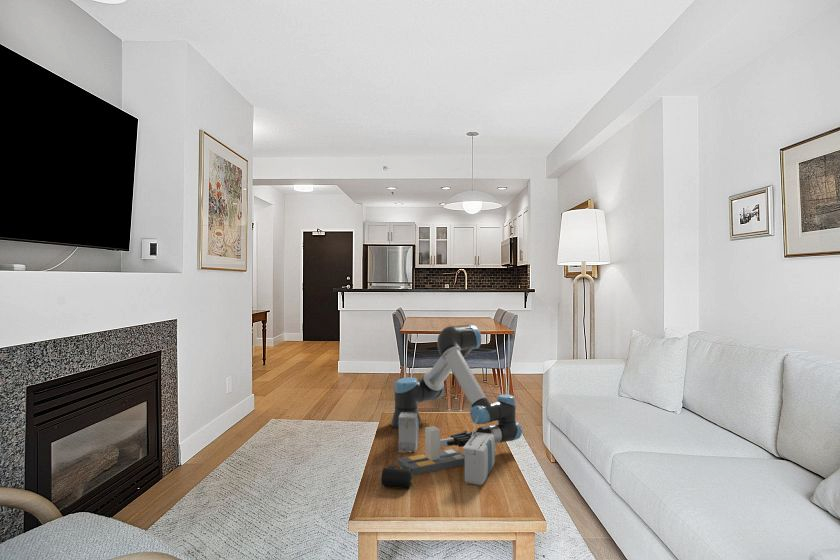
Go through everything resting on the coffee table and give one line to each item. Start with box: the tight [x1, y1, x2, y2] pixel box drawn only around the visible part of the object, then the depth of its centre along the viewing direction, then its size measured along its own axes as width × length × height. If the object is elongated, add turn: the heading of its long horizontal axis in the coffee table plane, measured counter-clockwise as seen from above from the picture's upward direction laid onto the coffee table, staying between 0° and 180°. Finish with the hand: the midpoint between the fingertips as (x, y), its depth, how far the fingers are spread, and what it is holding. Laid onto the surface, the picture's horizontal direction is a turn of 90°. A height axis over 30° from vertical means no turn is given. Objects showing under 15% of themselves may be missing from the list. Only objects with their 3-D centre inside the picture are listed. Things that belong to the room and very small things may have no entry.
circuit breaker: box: [398, 412, 420, 453], centre depth 214 cm, size 8×14×15 cm, turn 174°
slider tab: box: [424, 425, 441, 461], centre depth 193 cm, size 5×4×12 cm
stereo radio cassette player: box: [461, 416, 496, 487], centre depth 183 cm, size 21×8×20 cm, turn 160°
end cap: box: [380, 465, 413, 490], centre depth 172 cm, size 10×7×7 cm
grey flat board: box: [396, 448, 465, 476], centre depth 193 cm, size 12×26×3 cm, turn 116°
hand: (439, 443), depth 193 cm, fingers closed
